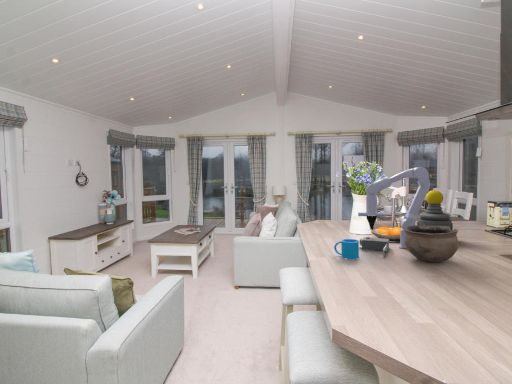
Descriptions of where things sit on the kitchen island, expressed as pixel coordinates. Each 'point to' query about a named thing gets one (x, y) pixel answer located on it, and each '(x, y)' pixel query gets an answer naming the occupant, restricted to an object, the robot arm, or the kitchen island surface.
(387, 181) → the robot arm
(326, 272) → the kitchen island surface
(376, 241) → the camera body
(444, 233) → the ceramic bowl
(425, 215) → the decorative lamp
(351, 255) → the mug
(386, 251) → the side door
